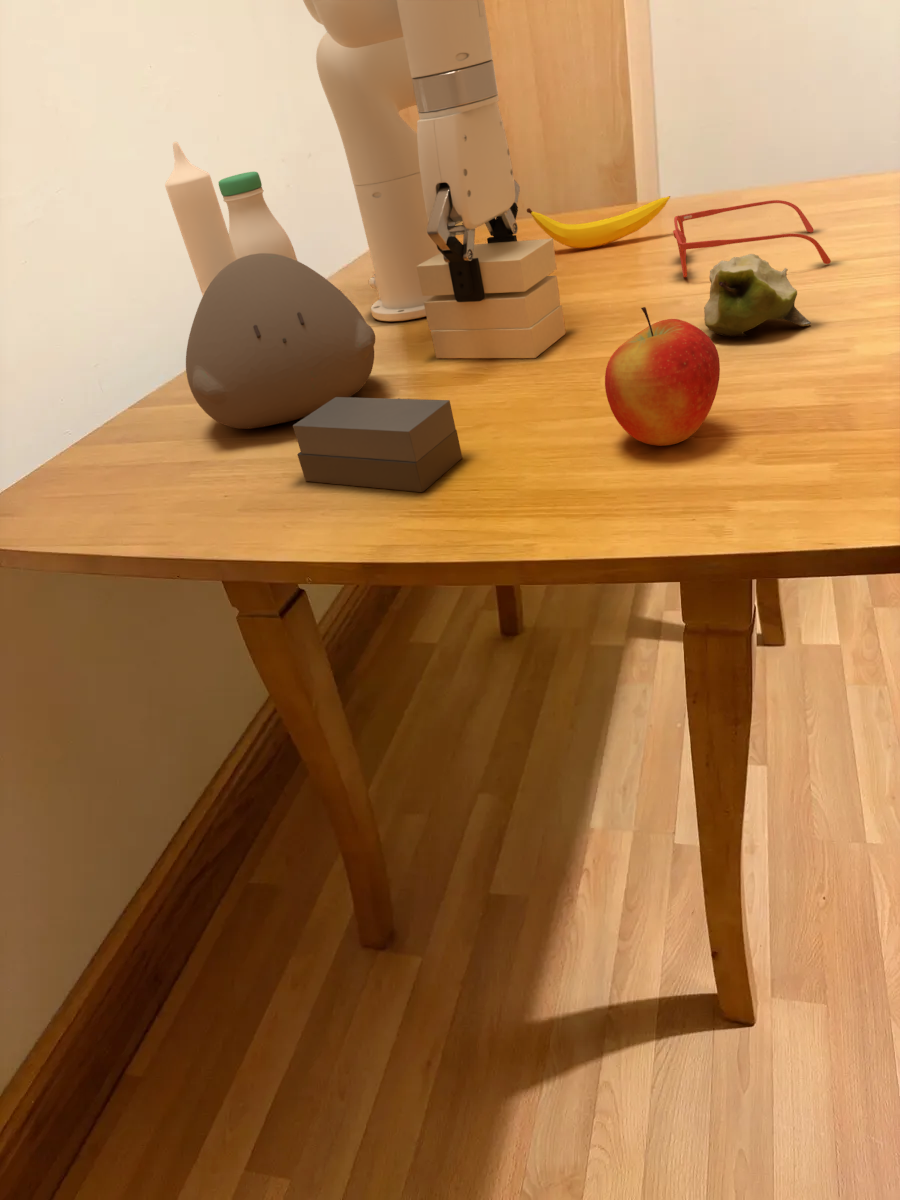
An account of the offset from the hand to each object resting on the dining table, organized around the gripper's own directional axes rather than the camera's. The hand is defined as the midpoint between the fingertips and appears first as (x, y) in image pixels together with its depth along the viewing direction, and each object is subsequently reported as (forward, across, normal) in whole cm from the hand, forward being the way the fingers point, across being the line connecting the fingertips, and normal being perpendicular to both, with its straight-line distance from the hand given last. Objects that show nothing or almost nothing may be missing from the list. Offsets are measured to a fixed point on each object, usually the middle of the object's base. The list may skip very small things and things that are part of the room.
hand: (489, 286), depth 92 cm
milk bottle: (+7, +1, -29) cm, 30 cm away
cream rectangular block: (0, 0, 0) cm, 0 cm away
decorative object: (+6, +17, -14) cm, 23 cm away
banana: (+7, -38, -5) cm, 39 cm away
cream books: (+6, 0, 0) cm, 6 cm away
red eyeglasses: (+6, -28, +18) cm, 33 cm away
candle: (+6, +12, -24) cm, 28 cm away
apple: (+6, +20, +26) cm, 33 cm away
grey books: (+6, +28, +5) cm, 29 cm away
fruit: (+6, -4, +25) cm, 26 cm away
